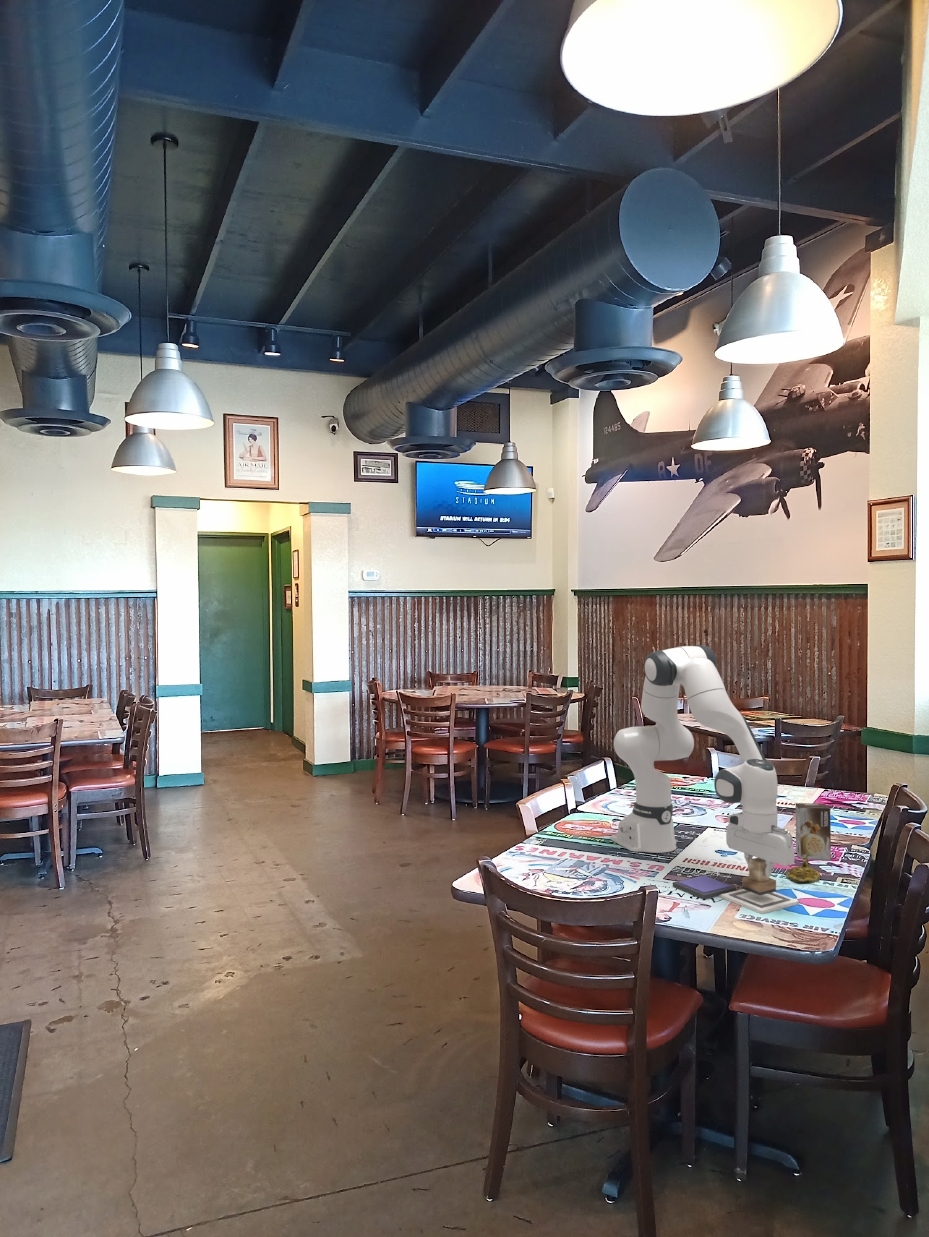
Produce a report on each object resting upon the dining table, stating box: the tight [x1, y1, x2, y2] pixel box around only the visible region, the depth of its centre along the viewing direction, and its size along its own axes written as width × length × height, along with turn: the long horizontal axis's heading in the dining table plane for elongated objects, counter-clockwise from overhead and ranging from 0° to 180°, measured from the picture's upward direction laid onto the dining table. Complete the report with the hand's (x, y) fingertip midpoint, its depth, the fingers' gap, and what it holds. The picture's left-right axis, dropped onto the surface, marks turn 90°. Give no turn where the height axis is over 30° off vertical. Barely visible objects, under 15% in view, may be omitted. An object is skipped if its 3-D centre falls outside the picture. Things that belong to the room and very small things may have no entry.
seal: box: [784, 857, 821, 885], centre depth 251 cm, size 9×5×15 cm
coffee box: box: [795, 802, 832, 861], centre depth 269 cm, size 9×6×16 cm
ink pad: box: [672, 874, 737, 900], centre depth 241 cm, size 12×12×2 cm
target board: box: [720, 889, 800, 915], centre depth 232 cm, size 14×14×1 cm
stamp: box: [741, 857, 777, 895], centre depth 231 cm, size 6×6×8 cm
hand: (759, 873), depth 231 cm, fingers closed on stamp, 4 cm apart
